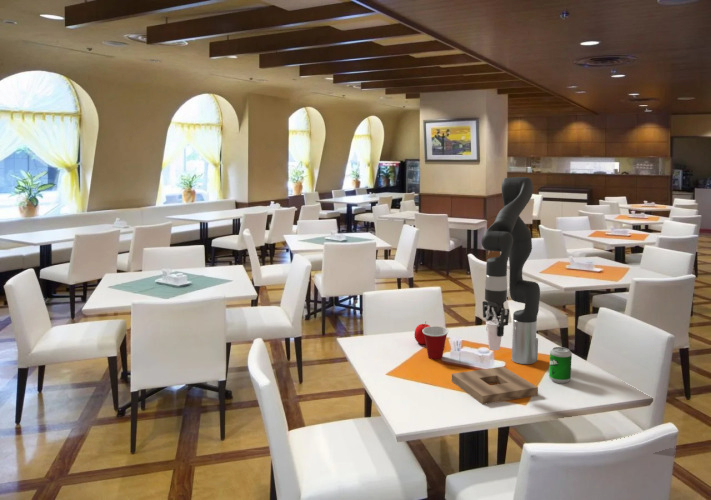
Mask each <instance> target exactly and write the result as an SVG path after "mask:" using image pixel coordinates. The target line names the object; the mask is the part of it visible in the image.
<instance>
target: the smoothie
mask: <svg viewBox="0 0 711 500" xmlns="http://www.w3.org/2000/svg"><path fill="white" fill-rule="evenodd" d="M485 326H486V332H487V341H488V349H489V350H491V351H499V350H500V348H501V342H502V337H503V336H501V337H499V336H497V326H498V325H497V321H496V320H495V319H493V320H489V321H486V320H485Z"/></svg>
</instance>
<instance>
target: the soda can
mask: <svg viewBox="0 0 711 500" xmlns="http://www.w3.org/2000/svg"><path fill="white" fill-rule="evenodd" d="M572 356H573V353H572V351H571V350H570V349H569V348H567V347H563V346H555V347H552V349H550V351H549V369H548V371H549V372H548V373H549V374H548V376H549V377H548V378H549V379H550V380H551V381H552V382H553V383H557V384H567V383H568V382H569V381H570V380H571V379H572V378H571V376H572V375H571V374H572Z"/></svg>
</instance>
